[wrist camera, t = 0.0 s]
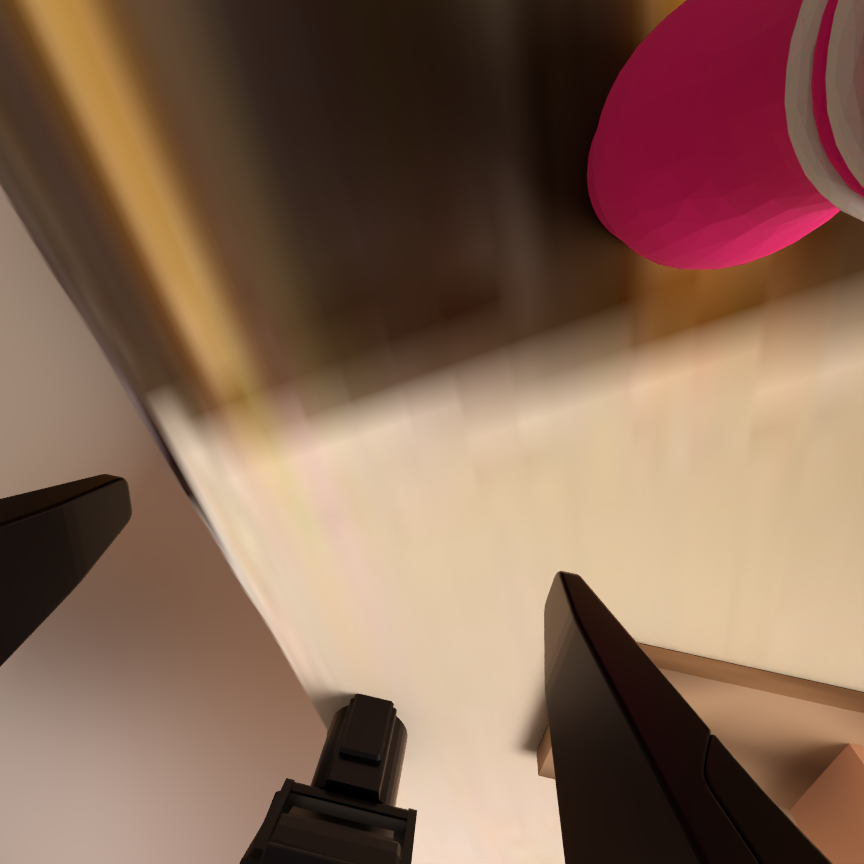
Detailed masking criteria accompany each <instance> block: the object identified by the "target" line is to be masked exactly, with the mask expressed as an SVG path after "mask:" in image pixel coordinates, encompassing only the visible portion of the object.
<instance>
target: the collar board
mask: <svg viewBox="0 0 864 864" xmlns="http://www.w3.org/2000/svg"><path fill="white" fill-rule="evenodd" d="M638 645H639V646H640V647H641V648H642V649H643V651H644V652H645V653H646V654H647V655H648V656H649V658H650V659H651V660H652V661H653V662H654V663H655V665H656V666H657V667H658V668H659V669H660V671H661V672H662V673H663V674H664V675H665V676H666V678H667V679H668V680H669V681H670V682H671V683H672V685H673V686H674V687H675V688H676V689H677V691H678V692H679V693H680V694H681V695H682V696H683V698H684V699H685V700H686V701H687V702H688V703H689V705H690V706H691V707H692V708H693V709H694V710H695V712H696V713H697V714H698V715H699V716H700V718H701V719H702V720H703V721H704V722H705V723H706V725H707V726H708V727H709V728H710V729H711V734H714V735H716V736H717V737H718V738H719V740H720V741H721V742H722V743H723V744H724V746H725V747H726V748H727V749H728V750H729V751H730V753H731V754H732V755H733V756H734V757H735V758H736V760H737V761H738V762H739V763H740V764H741V765H742V766H743V768H744V769H745V770H746V771H747V772H748V773H749V774H750V775H751V777H752V778H753V779H754V780H755V781H756V782H757V783H758V785H759V786H760V787H761V788H762V789H763V790H764V791H765V793H766V794H767V795H768V796H769V797H770V798H771V799H772V800H773V801H774V802H775V803H776V804H777V805H778V806H779V808H780V809H781V810H782V811H783V812H784V813H785V814H786V815H787V816H788V817H789V818H790V819H791V820H792V821H793V823H794V824H795V825H796V826H797V827H798V825H797V823H796V821H795V820H794V818H793V816H792V814H791V812H790V809H791V808H792V807H793V806H794V805H795V804H796V802H797V801H798V800H799V799H800V798H801V797H802V796H803V795H804V793H805V792H806V791H807V790H808V789H809V788H810V787H811V786H812V784H813V783H814V782H815V781H816V780H817V779H818V778H819V777H820V775H821V774H822V773H823V772H824V771H825V770H826V769H827V768H828V767H829V765H830V764H831V763H832V762H833V761H834V760H835V759H836V758H837V756H838V755H839V754H840V753H841V752H842V751H843V750H844V749H845V747H846V746H847V745H848V744H849V743H850V744H855V745H859V746H863V747H864V693H863V692H859V691H854V690H850V689H845V688H840V687H836V686H831V685H827V684H822V683H818V682H813V681H809V680H804V679H799V678H795V677H790V676H786V675H781V674H777V673H772V672H768V671H763V670H758V669H754V668H749V667H745V666H740V665H736V664H731V663H727V662H722V661H717V660H713V659H708V658H704V657H699V656H695V655H690V654H686V653H681V652H676V651H672V650H667V649H663V648H658V647H654V646H649V645H645V644H640V643H638ZM537 763H538V775H539V776H543V777H547V778H552V779H555V772H554V764H553V755H552V747H551V738H550V730H549V724H548V727H547V729H546V731H545V734H544V736H543V739H542V741H541V743H540V746H539V748H538V750H537ZM798 828H799V827H798Z"/></svg>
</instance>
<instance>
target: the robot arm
mask: <svg viewBox="0 0 864 864" xmlns="http://www.w3.org/2000/svg"><path fill="white" fill-rule="evenodd" d="M131 515H132V506H131V499H130V492H129V486H128V482H127V481H126V480H125V479H124V478H122V477H118V476H112V475H107V474H102V475H98V476H94V477H89V478H85V479H81V480H77V481H73V482H69V483H65V484H61V485H56V486H52V487H48V488H44V489H40V490H36V491H32V492H28V493H23V494H19V495H15V496H11V497H7V498H3V499H0V666H1V665H2V664H3V663H4V662H5V661H6V660H7V659H8V658H9V657H10V656H11V655H12V654H13V653H14V651H16V650H17V649H18V648H19V647H20V645H21V644H22V643H23V642H24V641H25V640H26V639H27V638H28V637H29V636H30V635H31V634H32V633H33V632H34V631H35V630H36V629H37V628H38V627H39V625H41V623H42V622H43V621H44V620H45V619H46V618H47V617H48V616H49V615H50V614H51V613H52V612H53V611H54V610H55V609H56V608H57V607H58V606H59V605H60V604H61V603H62V602H63V600H64V599H65V598H66V597H67V596H68V595H69V594H70V593H71V592H72V591H73V590H74V589H75V587H77V585H78V584H79V583H80V582H81V581H82V580H83V578H84V577H85V576H86V575H87V574H88V573H89V571H90V570H91V569H92V567H93V566H94V565H95V564H96V562H97V561H98V560H99V559H100V557H101V556H102V555H103V553H104V552H105V551H106V550H107V549H108V547H109V546H110V545H111V544H112V542H113V541H114V540H115V538H116V537H117V536H118V535H119V534H120V532H121V531H122V530H123V529H124V527H125V526H126V525H127V523H128V522H129V520H130V518H131ZM544 643H545V694H546V705H547V713H548V721H549V730H550V738H551V747H552V755H553V764H554V772H555V781H556V789H557V798H558V806H559V814H560V823H561V831H562V840H563V848H564V857H565V864H832V863H831V861H830V860H829V859H828V858H827V857H826V856H825V855H824V854H823V853H822V852H821V851H820V850H819V849H818V848H817V847H816V846H815V845H814V844H813V843H812V842H811V841H810V840H809V839H808V837H807V836H806V835H805V834H804V833H803V832H802V831H801V830H800V829H799V828H798V827H797V826H796V825H795V824H794V823H793V821H792V820H791V819H790V818H789V817H788V816H787V815H786V814H785V813H784V812H783V811H782V810H781V809H780V808H779V806H778V805H777V804H776V803H775V802H774V801H773V800H772V799H771V798H770V797H769V796H768V795H767V794H766V793H765V791H764V790H763V789H762V788H761V787H760V786H759V785H758V783H757V782H756V781H755V780H754V779H753V778H752V777H751V775H750V774H749V773H748V772H747V771H746V770H745V769H744V768H743V766H742V765H741V764H740V763H739V762H738V761H737V760H736V758H735V757H734V756H733V755H732V754H731V753H730V751H729V750H728V749H727V748H726V747H725V746H724V744H723V743H722V742H721V741H720V740H719V738H718V737H717V736H716V735H714V734H711V729H710V728H709V727H708V726H707V725H706V723H705V722H704V721H703V720H702V719H701V718H700V716H699V715H698V714H697V713H696V712H695V710H694V709H693V708H692V707H691V706H690V705H689V703H688V702H687V701H686V700H685V699H684V698H683V696H682V695H681V694H680V693H679V692H678V691H677V689H676V688H675V687H674V686H673V685H672V683H671V682H670V681H669V680H668V679H667V678H666V676H665V675H664V674H663V673H662V672H661V671H660V669H659V668H658V667H657V666H656V665H655V663H654V662H653V661H652V660H651V659H650V658H649V656H648V655H647V654H646V653H645V652H644V651H643V649H642V648H641V647H640V646H639V645H638V643H637V642H636V641H635V640H634V639H633V638H632V636H631V635H630V634H629V633H628V632H627V631H626V629H625V628H624V627H623V626H622V625H621V623H620V622H619V621H618V620H617V619H616V618H615V616H614V615H613V614H612V613H611V612H610V611H609V609H608V608H607V607H606V606H605V605H604V604H603V602H602V601H601V600H600V599H599V598H598V596H597V595H596V594H595V593H594V592H593V591H592V589H591V588H590V587H589V586H588V585H587V584H586V582H585V581H584V580H583V579H582V578H581V577H580V576H579V575H577V574H573V573H569V572H564V571H559V572H557V574H556V575H555V577H554V580H553V583H552V586H551V589H550V591H549V594H548V597H547V600H546V604H545V611H544ZM393 705H394V704H393V703H392V701H388V700H383V699H379V698H375V697H371V696H366V695H362V694H356V695H355V698H353V699H351V700H350V704H349V705H348V706H346V707H343V708H342V709H340V710H339V711H338V712H337V713H336V714H335V716H334V717H333V720H332V723H331V726H330V729H329V732H328V731H327V738H326V741H325V744H324V747H323V750H322V753H321V756H320V759H319V762H318V765H317V768H316V771H315V774H314V777H313V780H312V783H311V786H309V785H305V784H301V783H296V782H294V781H295V780H292V779H288V778H286V780H285V782H284V784H283V787H282V789H281V791H278V792H276V793H275V795H274V798H273V800H272V803H271V805H270V808H269V810H268V813H267V815H266V818H265V820H264V822H263V824H262V826H261V828H260V829H259V831H258V833H257V834H256V836H255V838H254V839H253V841H252V843H251V844H250V846H249V848H248V849H247V851H246V853H245V854H244V856H243V858H242V859H241V861H240V864H411V860H412V851H413V842H414V833H415V824H416V815H417V810H414V809H410V808H409V810H406V809H402V808H398V807H395V805H396V799H397V794H398V788H399V782H400V777H401V771H402V765H403V760H404V754H405V748H406V742H407V730H406V728H405V726H404V724H403V723H402V721H401V720H400V719H399V718H398V717H397V716H396V712H397V710H396V709H395V708H393Z"/></svg>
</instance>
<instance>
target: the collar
mask: <svg viewBox="0 0 864 864" xmlns="http://www.w3.org/2000/svg"><path fill="white" fill-rule="evenodd" d="M790 812H791V814H792V816H793V818H794V820H795V821H796V823H797V825H798V827H799V829H800V830H801V831H802V832H803V833H804V834H805V835H806V836H807V837H808V839H809V840H810V841H811V842H812V843H813V844H814V845H815V846H816V847H817V848H818V849H819V850H820V851H821V852H822V853H823V854H824V855H825V856H826V857H827V858H828V859H829V860H830V861H831V863H832V864H864V747H863V746H859V745H855V744H850V743H849V744H848V745H847V746H846V747H845V749H844V750H843V751H842V752H841V753H840V754H839V755H838V756H837V758H836V759H835V760H834V761H833V762H832V763H831V764H830V765H829V767H828V768H827V769H826V770H825V771H824V772H823V773H822V774H821V775H820V777H819V778H818V779H817V780H816V781H815V782H814V783H813V784H812V786H811V787H810V788H809V789H808V790H807V791H806V792H805V793H804V795H803V796H802V797H801V798H800V799H799V800H798V801H797V802H796V804H795V805H794V806H793V807H792V808H791V809H790Z"/></svg>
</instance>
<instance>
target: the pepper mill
mask: <svg viewBox="0 0 864 864" xmlns="http://www.w3.org/2000/svg"><path fill="white" fill-rule="evenodd" d="M587 185H588V192H589V197H590V200H591V203H592V206H593V209H594V211H595V213H596V215H597V217H598V218H599V220H600V221H601V223H602V224H603V225H604V226H605V227H606V229H607V230H608V231H609V232H610V233H611V234H613V235H614V236H615V237H617V238H618V239H620V240H621V241H623V242H624V243H625V244H626V245H627V246H628V247H630V248H631V249H632V250H633V251H635V252H636V253H638V254H639V255H641V256H643V257H645V258H647V259H649V260H651V261H653V262H655V263H657V264H660V265H664V266H669V267H673V268H678V269H700V270H704V269H720V268H726V267H732V266H737V265H743V264H745V263H748V262H751V261H754V260H757V259H759V258H762V257H765V256H768V255H770V254H772V253H774V252H776V251H778V250H780V249H782V248H784V247H787V246H789V245H791V244H793V243H795V242H796V241H798V240H799V239H801V238H802V237H804V236H805V235H807V234H808V233H810V232H811V231H813V230H815V229H816V228H818V227H819V226H821V225H822V224H824V223H825V222H827V221H828V220H829V219H831V218H832V217H833V216H834V215H835V214H837V213H838V212H839V211H840V210H841V211H843V212H845V213H847V214H849V215H851V216H853V217H855V218H857V219H859V220H861V221H863V222H864V0H687V1H685V2H684V3H683V4H682V5H680V6H679V7H678V8H677V9H676V10H674V11H673V12H672V13H671V14H669V15H668V16H667V17H666V18H665V19H664V20H663V21H662V22H661V23H660V24H659V25H658V26H657V27H656V28H655V29H654V30H653V31H652V32H651V33H650V34H649V35H648V36H647V37H646V38H645V39H644V40H643V41H642V42H641V43H640V44H639V45H638V46H637V48H636V49H635V51H634V52H633V54H632V55H631V57H630V58H629V59H628V61H627V62H626V64H625V65H624V67H623V68H622V70H621V71H620V73H619V74H618V76H617V78H616V80H615V82H614V84H613V86H612V88H611V90H610V92H609V94H608V97H607V99H606V102H605V105H604V107H603V110H602V113H601V116H600V120H599V124H598V128H597V131H596V133H595V135H594V138H593V141H592V144H591V147H590V152H589V157H588V168H587Z"/></svg>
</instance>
